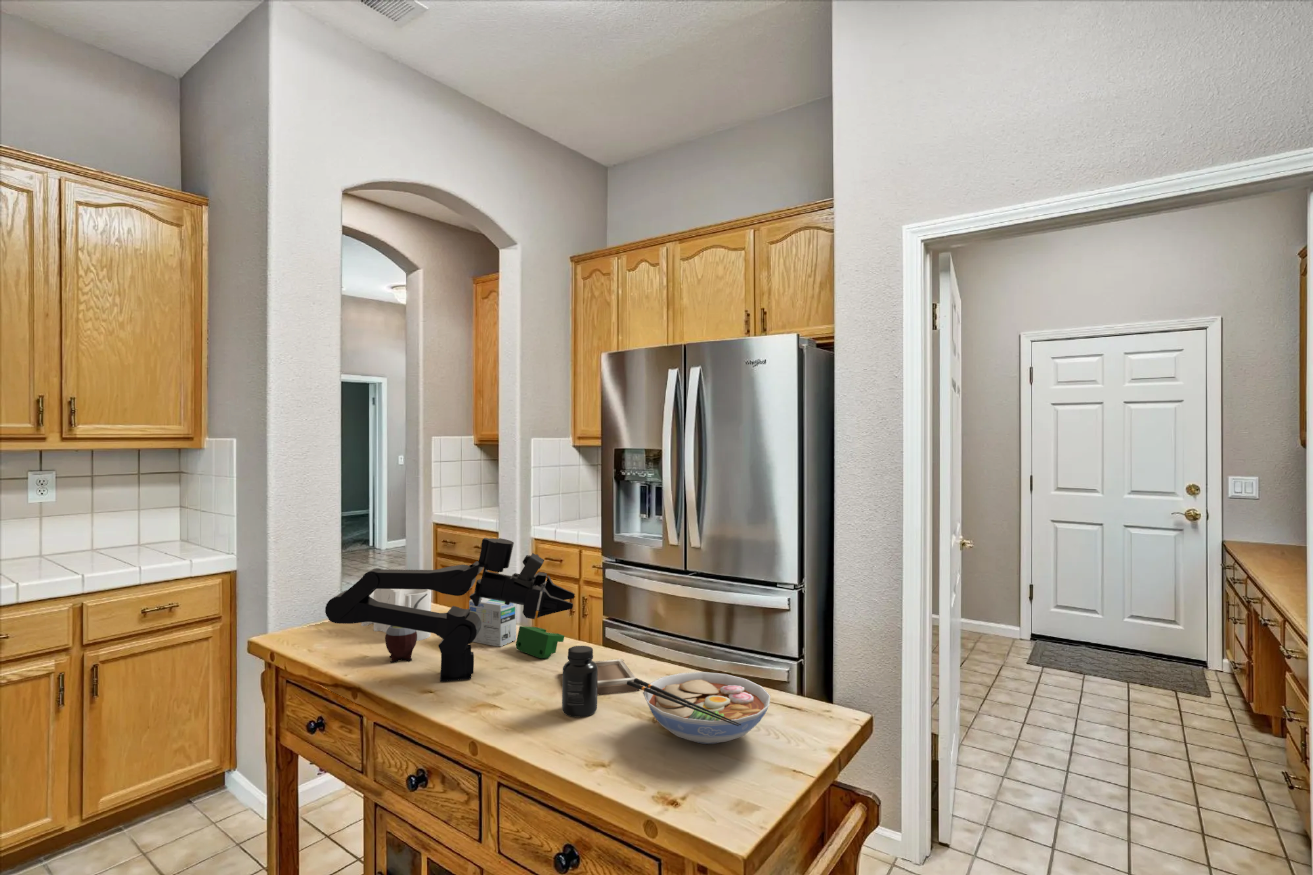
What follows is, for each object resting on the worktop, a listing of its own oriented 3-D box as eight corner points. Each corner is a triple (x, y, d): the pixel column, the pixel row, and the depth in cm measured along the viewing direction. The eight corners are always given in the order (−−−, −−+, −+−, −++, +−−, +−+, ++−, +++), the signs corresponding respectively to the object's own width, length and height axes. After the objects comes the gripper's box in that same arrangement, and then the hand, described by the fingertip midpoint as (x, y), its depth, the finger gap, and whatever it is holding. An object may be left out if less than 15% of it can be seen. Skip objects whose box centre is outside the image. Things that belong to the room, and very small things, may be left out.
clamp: (553, 672, 160) (570, 640, 159) (535, 672, 155) (552, 639, 155) (529, 642, 168) (545, 612, 167) (511, 642, 163) (527, 610, 163)
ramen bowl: (801, 739, 116) (802, 693, 116) (717, 784, 100) (718, 731, 100) (697, 697, 134) (697, 658, 134) (612, 731, 118) (612, 685, 118)
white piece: (439, 635, 173) (440, 590, 173) (405, 644, 166) (406, 596, 166) (391, 618, 189) (392, 576, 189) (358, 625, 182) (359, 581, 182)
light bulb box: (517, 640, 170) (517, 599, 170) (500, 647, 164) (501, 604, 164) (484, 634, 175) (485, 594, 175) (467, 641, 169) (467, 599, 169)
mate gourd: (378, 661, 152) (379, 597, 152) (402, 651, 160) (403, 590, 160) (403, 666, 150) (404, 600, 150) (427, 655, 157) (428, 593, 157)
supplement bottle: (604, 711, 127) (605, 649, 127) (577, 721, 122) (578, 657, 122) (581, 701, 131) (582, 641, 132) (554, 710, 126) (555, 648, 127)
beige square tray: (573, 697, 133) (573, 685, 133) (562, 673, 147) (562, 663, 147) (639, 690, 137) (639, 679, 137) (623, 668, 151) (623, 658, 151)
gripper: (506, 560, 136) (580, 574, 137) (517, 545, 154) (582, 558, 156) (494, 612, 135) (569, 626, 137) (507, 591, 154) (572, 604, 155)
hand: (573, 601), depth 146 cm, fingers open, 9 cm apart
